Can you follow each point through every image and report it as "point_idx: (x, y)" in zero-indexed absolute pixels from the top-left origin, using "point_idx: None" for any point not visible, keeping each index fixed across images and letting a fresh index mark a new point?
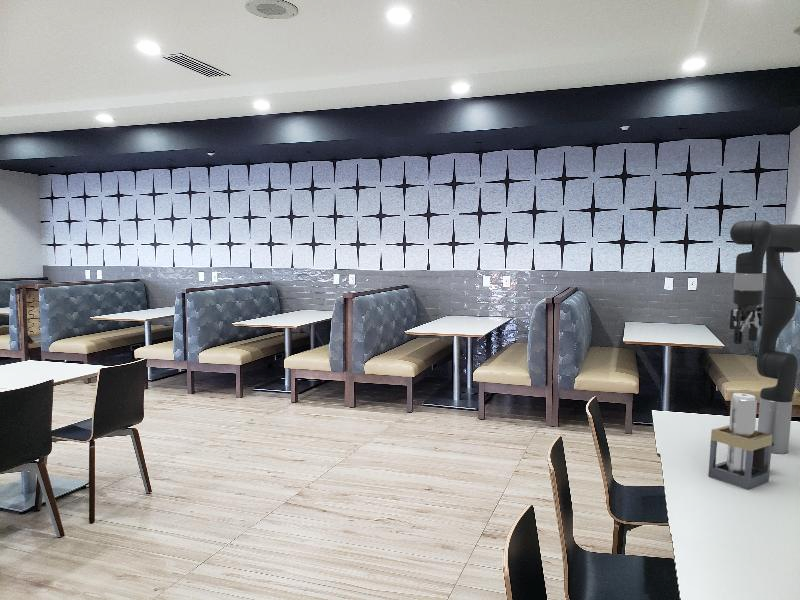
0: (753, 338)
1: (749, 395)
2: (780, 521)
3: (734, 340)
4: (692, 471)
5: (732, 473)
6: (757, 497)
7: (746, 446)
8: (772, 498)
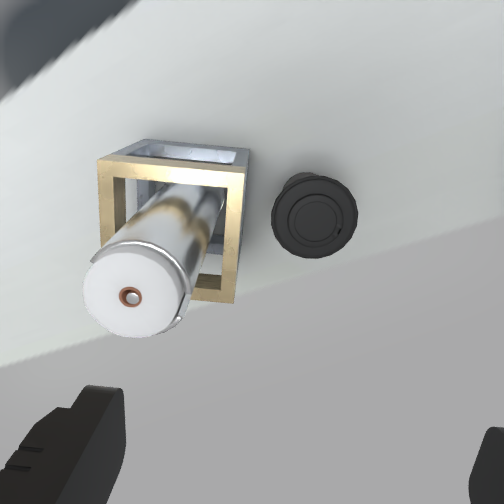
0: (492, 499)
1: (151, 312)
2: (42, 334)
3: (40, 427)
4: (142, 91)
5: (141, 206)
6: None
7: None
8: None
